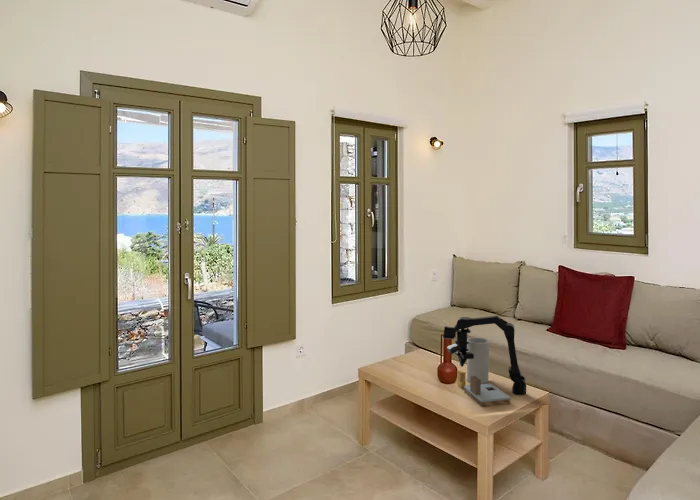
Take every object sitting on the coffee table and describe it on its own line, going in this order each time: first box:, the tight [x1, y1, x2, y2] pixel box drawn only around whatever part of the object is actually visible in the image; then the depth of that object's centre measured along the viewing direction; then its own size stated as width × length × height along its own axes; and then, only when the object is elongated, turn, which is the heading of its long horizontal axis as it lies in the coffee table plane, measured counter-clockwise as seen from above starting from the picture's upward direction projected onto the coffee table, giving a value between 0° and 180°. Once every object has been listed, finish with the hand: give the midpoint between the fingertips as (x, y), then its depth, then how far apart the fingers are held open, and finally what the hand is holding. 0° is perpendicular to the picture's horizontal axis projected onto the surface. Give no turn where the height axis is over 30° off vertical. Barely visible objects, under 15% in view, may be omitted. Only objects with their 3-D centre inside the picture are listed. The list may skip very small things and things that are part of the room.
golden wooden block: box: [457, 370, 467, 389], centre depth 273 cm, size 3×3×10 cm
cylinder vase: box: [466, 337, 490, 384], centre depth 283 cm, size 12×12×25 cm
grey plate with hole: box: [463, 376, 511, 402], centre depth 256 cm, size 16×20×9 cm
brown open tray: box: [463, 388, 511, 408], centre depth 257 cm, size 16×20×4 cm
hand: (461, 366), depth 272 cm, fingers closed
